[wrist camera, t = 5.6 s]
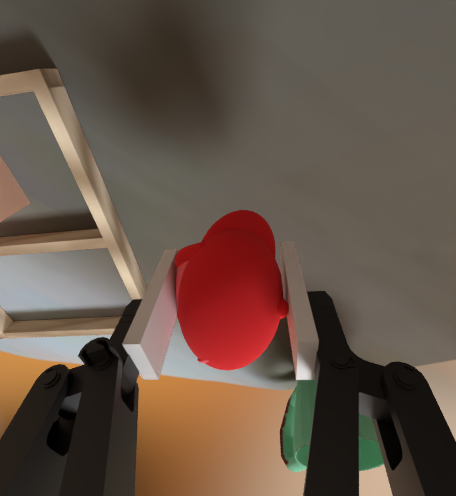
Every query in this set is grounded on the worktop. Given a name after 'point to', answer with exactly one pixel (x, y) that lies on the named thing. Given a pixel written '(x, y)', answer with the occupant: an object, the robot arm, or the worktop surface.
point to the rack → (96, 197)
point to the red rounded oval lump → (230, 291)
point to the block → (10, 193)
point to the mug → (300, 425)
